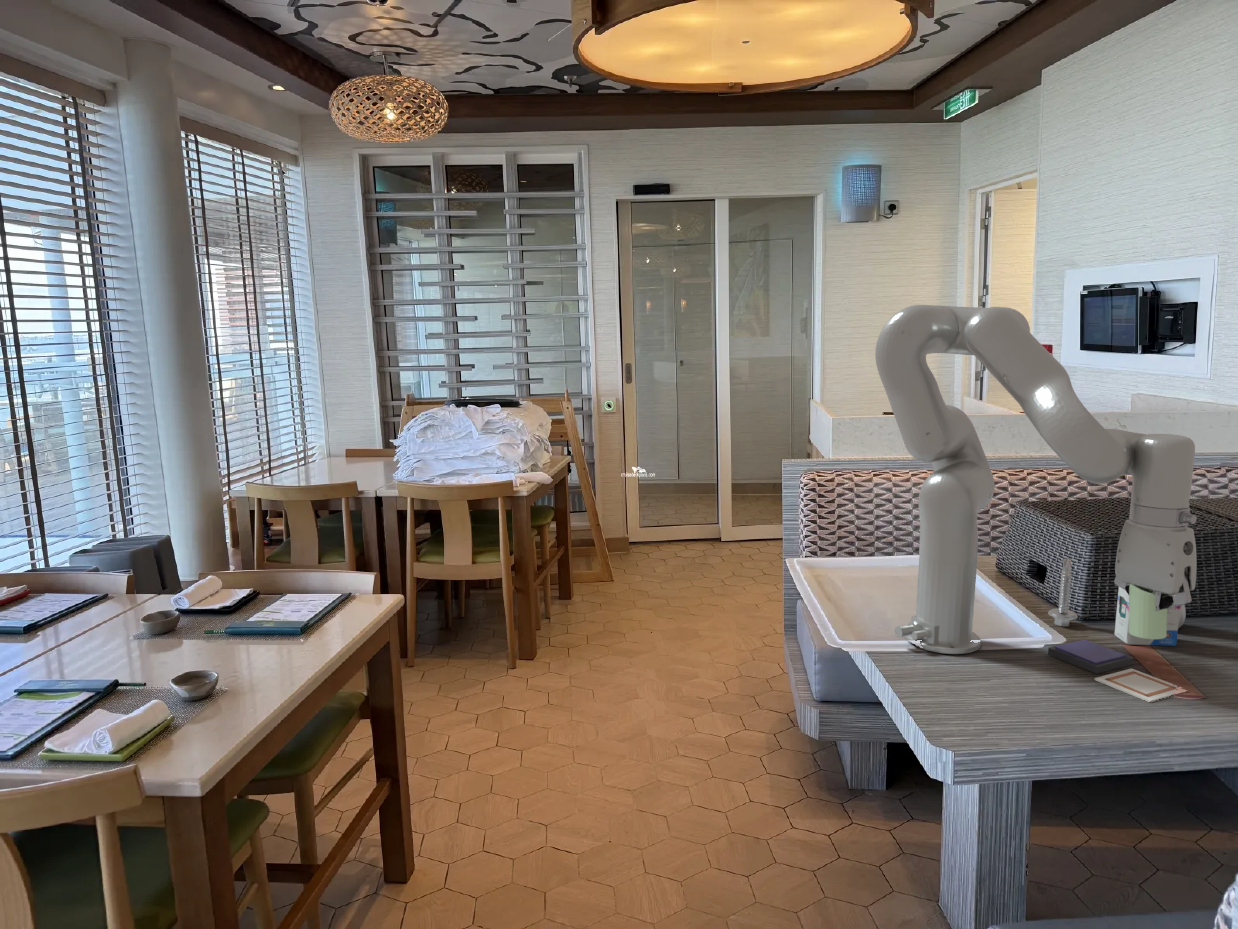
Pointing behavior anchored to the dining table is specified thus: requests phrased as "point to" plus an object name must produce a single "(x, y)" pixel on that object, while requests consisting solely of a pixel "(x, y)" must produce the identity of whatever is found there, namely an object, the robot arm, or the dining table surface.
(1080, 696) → the dining table surface
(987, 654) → the dining table surface
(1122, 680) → the square coaster
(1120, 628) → the ink box
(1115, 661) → the ink pad
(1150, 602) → the candle
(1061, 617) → the screw
